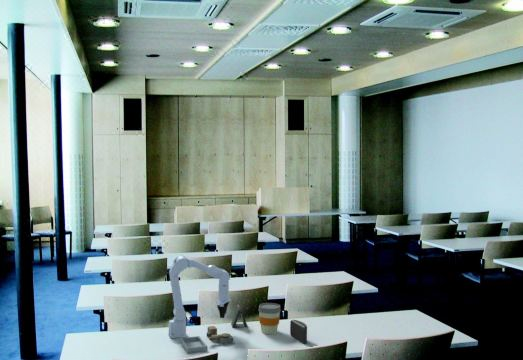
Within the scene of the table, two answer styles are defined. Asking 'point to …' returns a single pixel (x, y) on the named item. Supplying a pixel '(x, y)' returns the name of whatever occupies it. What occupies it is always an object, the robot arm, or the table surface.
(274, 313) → the reusable coffee cup
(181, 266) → the robot arm
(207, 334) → the crank
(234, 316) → the phone stand
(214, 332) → the block
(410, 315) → the table surface
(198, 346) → the tray
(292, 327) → the leaning round-cornered charcoal block
